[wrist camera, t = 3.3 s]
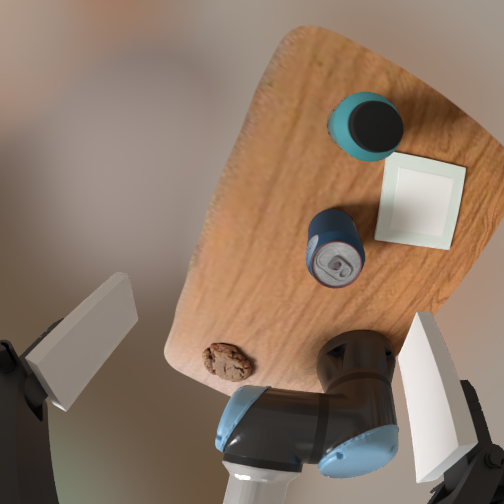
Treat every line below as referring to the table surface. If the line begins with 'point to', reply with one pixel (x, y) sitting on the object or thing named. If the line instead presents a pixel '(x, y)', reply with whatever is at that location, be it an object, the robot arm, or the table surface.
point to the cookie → (226, 362)
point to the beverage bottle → (366, 126)
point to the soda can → (334, 249)
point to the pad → (419, 201)
